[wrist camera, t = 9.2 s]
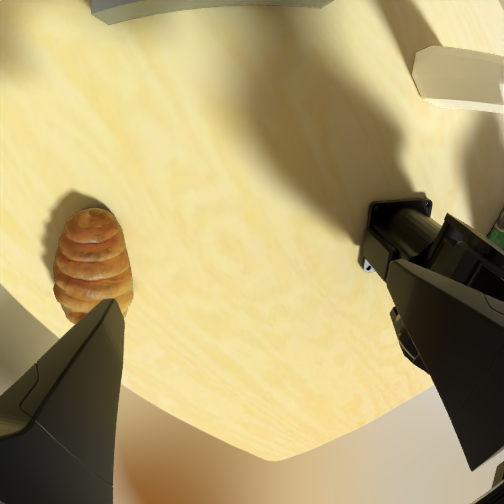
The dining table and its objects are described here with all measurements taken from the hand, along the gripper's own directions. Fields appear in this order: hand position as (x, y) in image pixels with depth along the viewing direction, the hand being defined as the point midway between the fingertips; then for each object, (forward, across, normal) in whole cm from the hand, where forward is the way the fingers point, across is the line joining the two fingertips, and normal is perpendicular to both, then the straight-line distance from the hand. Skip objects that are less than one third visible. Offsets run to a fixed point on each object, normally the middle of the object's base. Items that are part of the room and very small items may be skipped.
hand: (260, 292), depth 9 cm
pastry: (+14, +12, +6) cm, 19 cm away
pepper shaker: (+13, -17, -8) cm, 23 cm away
